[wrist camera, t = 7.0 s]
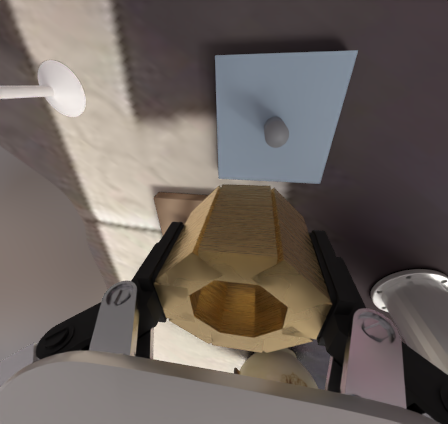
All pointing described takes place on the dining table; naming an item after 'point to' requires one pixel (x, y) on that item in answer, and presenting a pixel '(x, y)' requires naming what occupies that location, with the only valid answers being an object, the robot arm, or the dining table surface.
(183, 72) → the dining table surface
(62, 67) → the champagne flute
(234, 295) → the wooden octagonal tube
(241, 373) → the pitcher
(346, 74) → the hub plate
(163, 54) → the dining table surface
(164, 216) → the rod stand
